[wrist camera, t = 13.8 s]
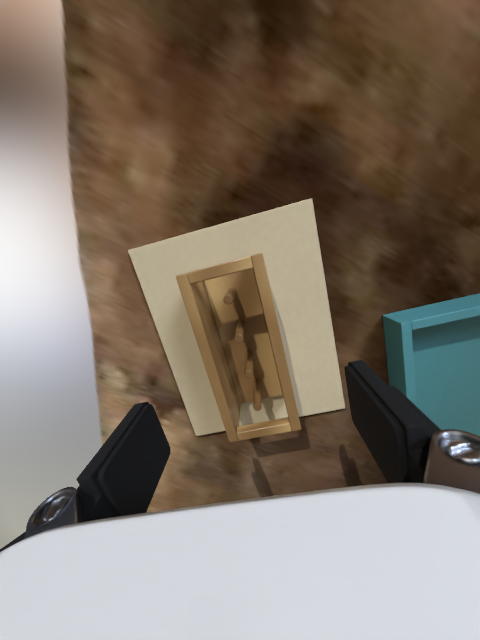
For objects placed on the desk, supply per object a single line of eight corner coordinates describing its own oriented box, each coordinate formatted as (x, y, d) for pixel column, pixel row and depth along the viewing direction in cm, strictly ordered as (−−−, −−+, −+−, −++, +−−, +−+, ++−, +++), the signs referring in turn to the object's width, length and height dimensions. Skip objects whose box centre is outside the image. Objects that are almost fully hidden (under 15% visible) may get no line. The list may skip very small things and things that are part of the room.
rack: (259, 253, 20) (262, 252, 15) (290, 393, 23) (301, 429, 18) (192, 271, 20) (174, 275, 15) (233, 405, 24) (229, 443, 19)
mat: (310, 199, 19) (312, 198, 18) (343, 405, 24) (345, 408, 23) (130, 250, 20) (127, 250, 20) (197, 433, 26) (196, 436, 25)
